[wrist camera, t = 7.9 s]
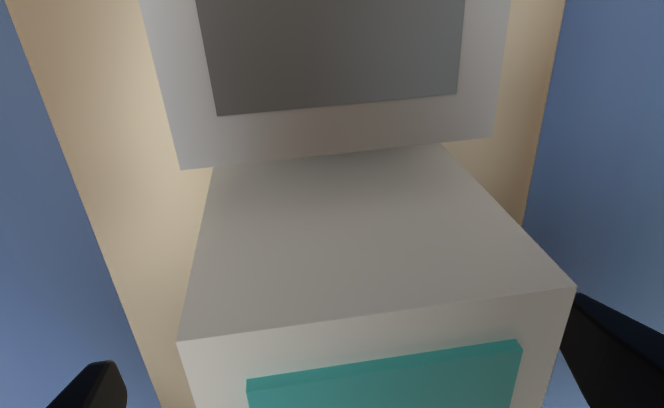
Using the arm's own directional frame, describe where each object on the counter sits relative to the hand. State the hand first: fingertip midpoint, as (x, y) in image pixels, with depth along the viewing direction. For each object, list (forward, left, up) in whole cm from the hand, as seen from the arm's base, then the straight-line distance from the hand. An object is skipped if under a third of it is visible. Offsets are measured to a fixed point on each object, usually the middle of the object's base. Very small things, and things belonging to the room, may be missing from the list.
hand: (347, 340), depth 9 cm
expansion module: (0, 0, -4) cm, 4 cm away
